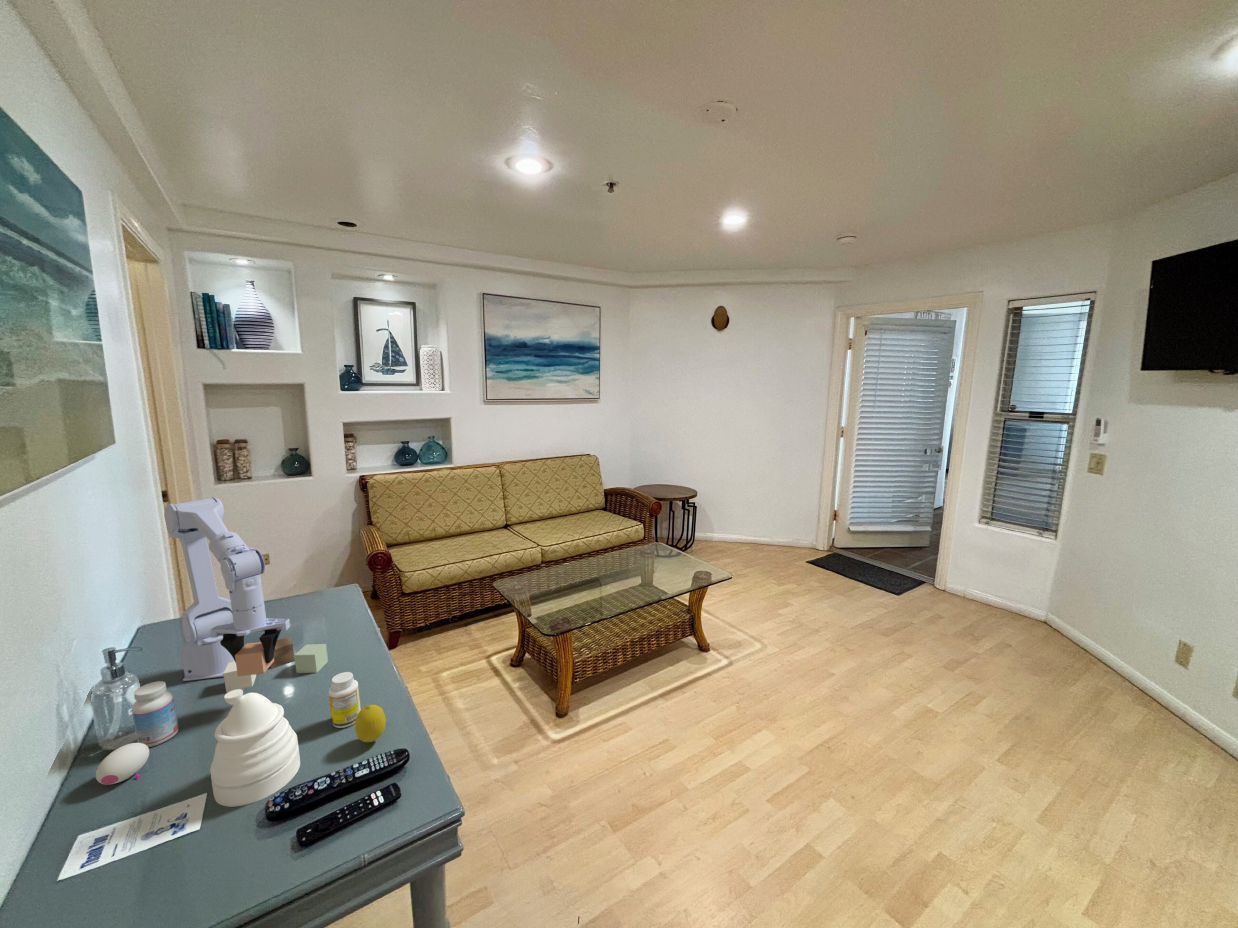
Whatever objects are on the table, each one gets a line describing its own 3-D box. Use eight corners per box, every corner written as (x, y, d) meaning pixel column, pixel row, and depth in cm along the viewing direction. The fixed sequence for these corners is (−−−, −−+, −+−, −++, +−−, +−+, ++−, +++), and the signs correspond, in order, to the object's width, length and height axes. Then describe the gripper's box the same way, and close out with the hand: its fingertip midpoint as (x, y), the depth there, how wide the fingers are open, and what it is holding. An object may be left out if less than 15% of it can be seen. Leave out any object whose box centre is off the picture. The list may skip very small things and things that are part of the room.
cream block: (226, 692, 114) (223, 673, 113) (231, 681, 118) (228, 662, 117) (252, 686, 116) (249, 667, 115) (256, 675, 120) (253, 657, 120)
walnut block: (271, 668, 123) (269, 650, 123) (268, 660, 127) (266, 643, 126) (294, 661, 127) (292, 643, 126) (291, 653, 130) (289, 636, 130)
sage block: (296, 673, 121) (294, 655, 121) (308, 662, 126) (306, 644, 126) (316, 672, 122) (314, 654, 121) (328, 661, 127) (326, 643, 126)
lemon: (356, 755, 94) (352, 718, 93) (356, 737, 99) (353, 701, 98) (387, 745, 97) (384, 709, 96) (386, 728, 102) (383, 693, 100)
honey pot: (232, 819, 81) (217, 721, 78) (201, 785, 87) (187, 695, 84) (313, 767, 91) (303, 680, 88) (281, 741, 98) (270, 659, 95)
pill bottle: (184, 732, 101) (176, 683, 99) (147, 752, 95) (137, 700, 93) (169, 724, 103) (161, 675, 101) (132, 742, 98) (122, 692, 96)
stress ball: (139, 776, 93) (117, 749, 93) (168, 756, 93) (146, 728, 92) (94, 808, 86) (70, 779, 86) (126, 787, 85) (102, 757, 85)
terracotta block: (237, 676, 106) (234, 655, 105) (249, 663, 111) (246, 643, 110) (263, 673, 107) (261, 652, 106) (274, 660, 112) (271, 640, 111)
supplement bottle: (340, 712, 107) (336, 669, 105) (366, 711, 107) (362, 668, 105) (326, 729, 101) (321, 685, 100) (353, 729, 102) (349, 684, 100)
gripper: (198, 617, 101) (207, 676, 103) (277, 610, 104) (284, 668, 106) (218, 602, 108) (226, 658, 110) (291, 596, 111) (297, 651, 113)
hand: (255, 662), depth 109 cm, fingers closed on terracotta block, 5 cm apart
